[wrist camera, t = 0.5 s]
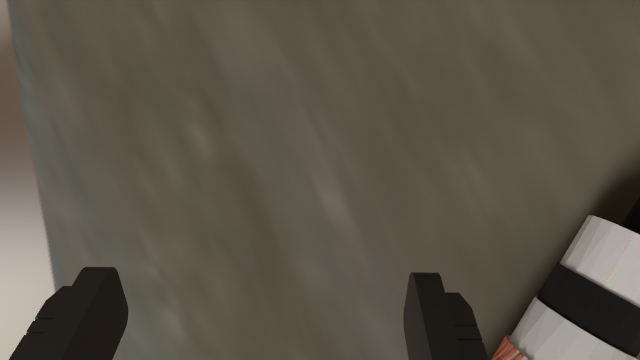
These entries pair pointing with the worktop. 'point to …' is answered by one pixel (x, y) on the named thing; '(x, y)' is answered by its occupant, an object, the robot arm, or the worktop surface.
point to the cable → (586, 299)
